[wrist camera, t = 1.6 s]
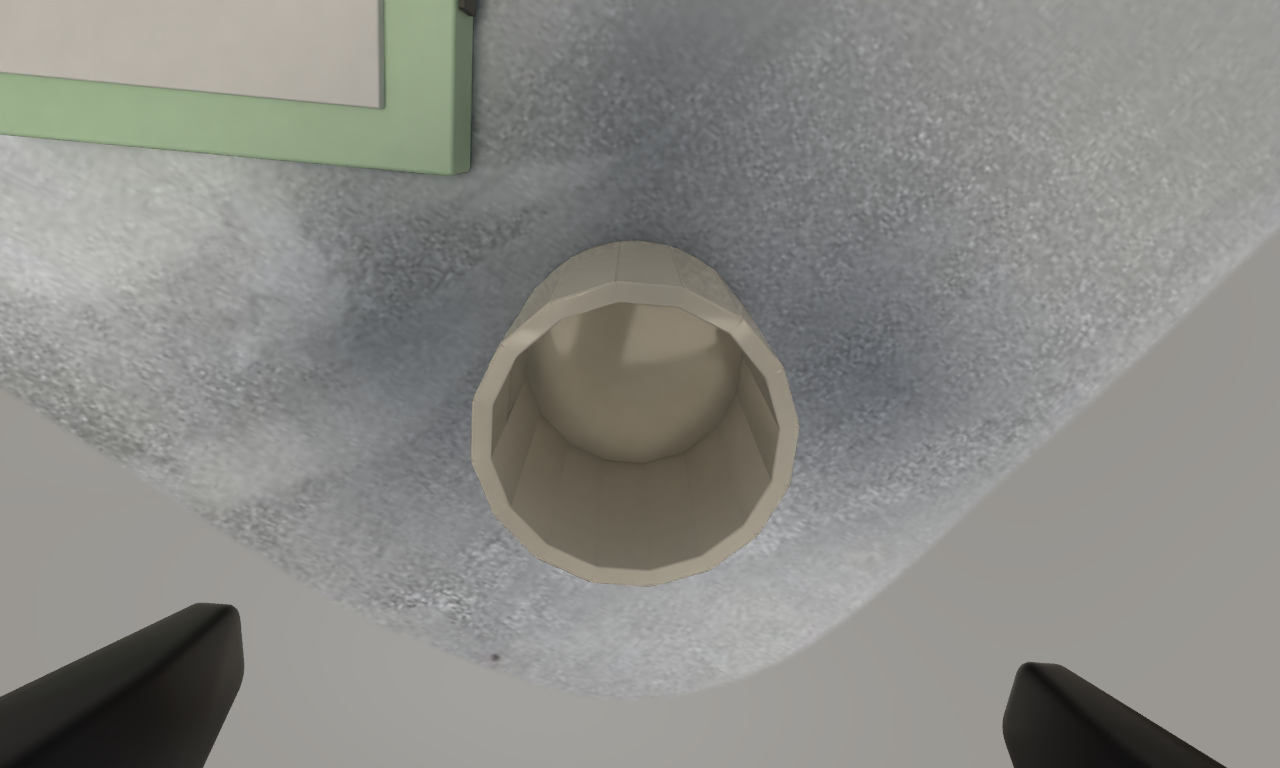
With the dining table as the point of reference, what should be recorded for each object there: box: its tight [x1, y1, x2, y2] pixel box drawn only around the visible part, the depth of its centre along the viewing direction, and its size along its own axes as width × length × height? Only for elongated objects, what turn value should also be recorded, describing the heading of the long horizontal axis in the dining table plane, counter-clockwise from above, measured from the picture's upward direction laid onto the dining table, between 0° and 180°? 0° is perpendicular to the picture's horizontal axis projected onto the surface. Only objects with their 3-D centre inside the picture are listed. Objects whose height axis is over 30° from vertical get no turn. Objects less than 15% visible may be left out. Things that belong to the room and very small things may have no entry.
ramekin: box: [471, 240, 799, 587], centre depth 18 cm, size 6×6×6 cm
